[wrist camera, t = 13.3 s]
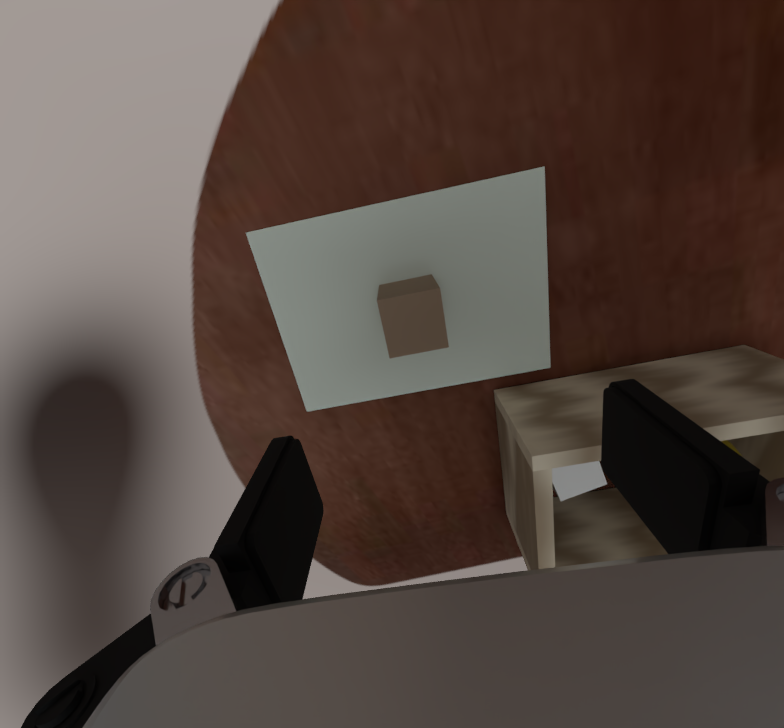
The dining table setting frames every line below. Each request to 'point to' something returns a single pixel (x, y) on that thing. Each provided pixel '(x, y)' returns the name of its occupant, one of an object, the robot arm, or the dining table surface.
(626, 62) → the dining table surface
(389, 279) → the lid
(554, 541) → the box
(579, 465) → the grey cube
